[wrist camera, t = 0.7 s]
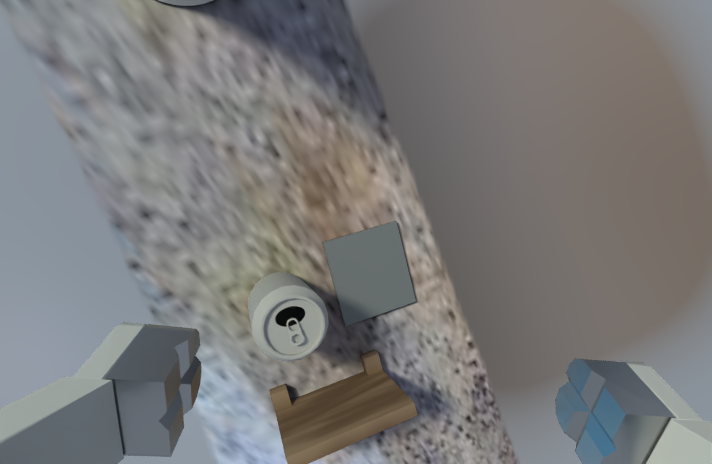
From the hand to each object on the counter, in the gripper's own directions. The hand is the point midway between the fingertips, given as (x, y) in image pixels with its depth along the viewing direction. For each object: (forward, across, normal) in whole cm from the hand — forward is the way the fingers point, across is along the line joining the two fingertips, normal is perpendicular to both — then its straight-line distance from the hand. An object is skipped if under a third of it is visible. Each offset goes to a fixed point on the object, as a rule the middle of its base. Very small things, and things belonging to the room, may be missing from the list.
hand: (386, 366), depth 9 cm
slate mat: (+40, -4, +19) cm, 44 cm away
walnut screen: (+33, 0, +33) cm, 47 cm away
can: (+36, +7, +22) cm, 43 cm away
